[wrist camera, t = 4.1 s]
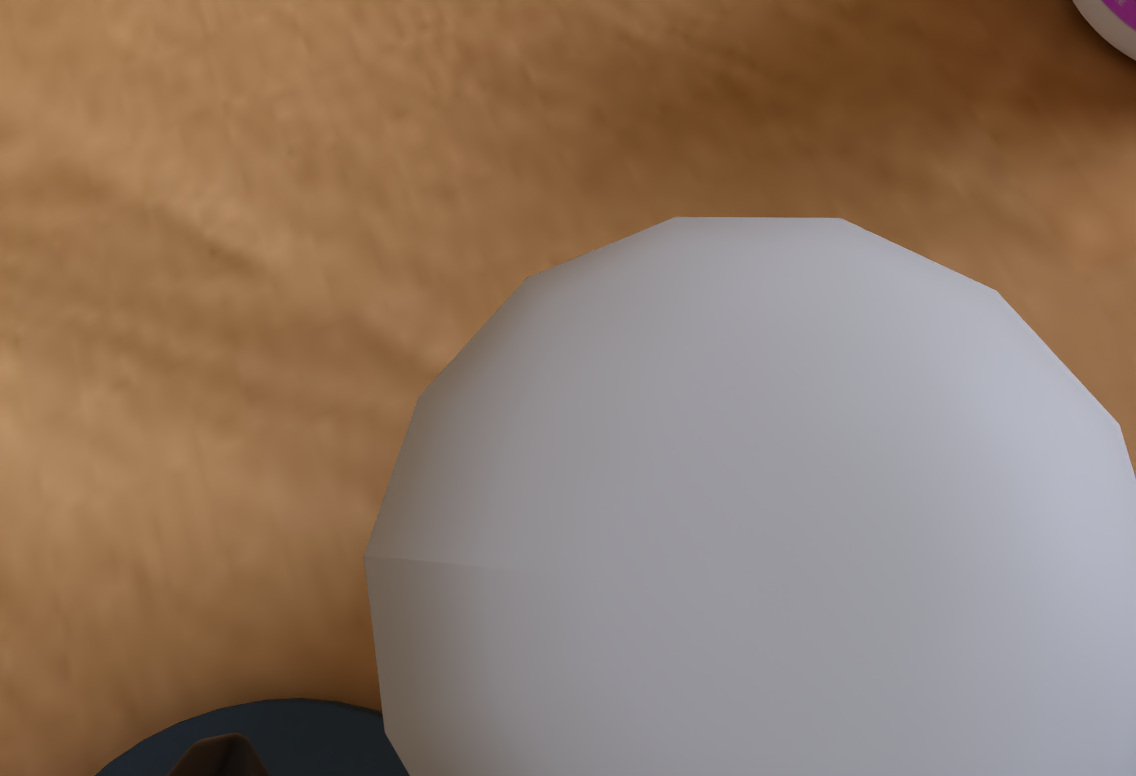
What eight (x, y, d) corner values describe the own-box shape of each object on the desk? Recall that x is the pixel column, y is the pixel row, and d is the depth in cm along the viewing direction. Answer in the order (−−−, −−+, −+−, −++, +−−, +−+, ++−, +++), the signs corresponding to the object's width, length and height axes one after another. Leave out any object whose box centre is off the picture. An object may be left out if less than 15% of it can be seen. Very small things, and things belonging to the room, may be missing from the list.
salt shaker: (677, 377, 18) (701, -171, 5) (923, 581, 17) (1746, 506, 4) (469, 610, 17) (-65, 623, 5) (708, 841, 16) (865, 1730, 3)
